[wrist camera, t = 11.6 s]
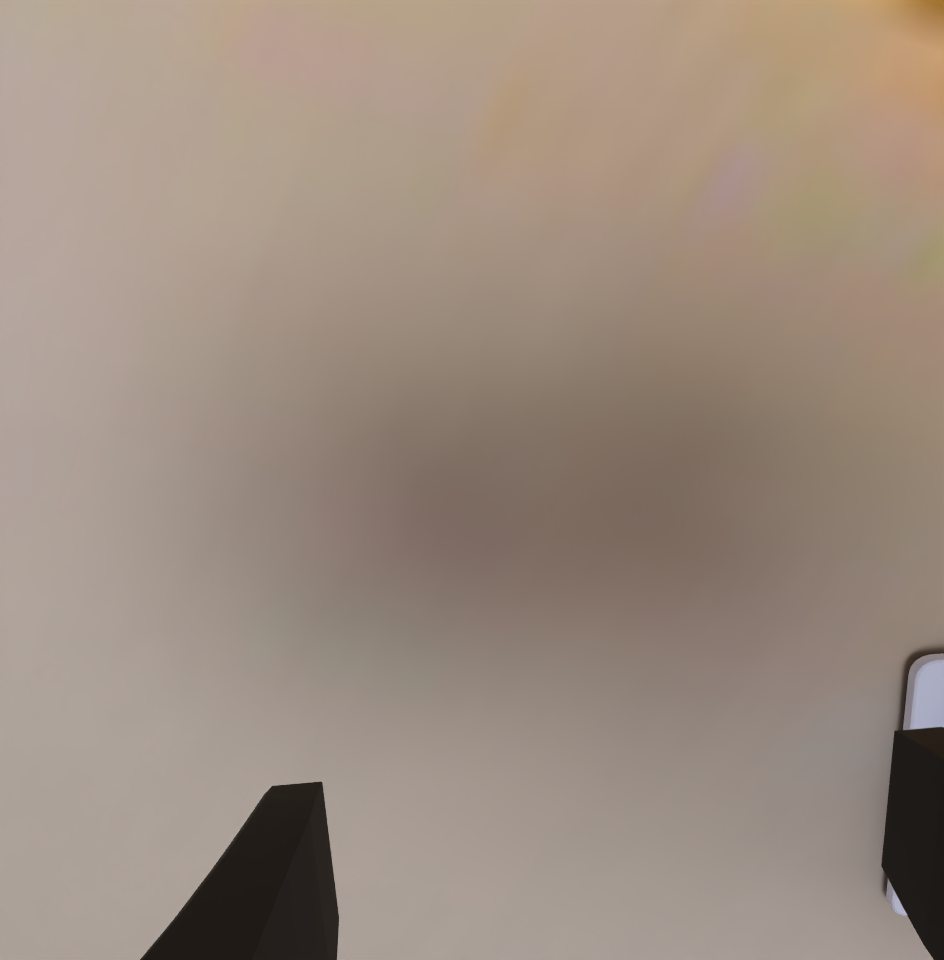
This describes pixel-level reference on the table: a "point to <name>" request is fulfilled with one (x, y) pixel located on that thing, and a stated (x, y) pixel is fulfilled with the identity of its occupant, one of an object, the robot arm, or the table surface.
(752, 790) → the table surface
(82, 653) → the table surface
